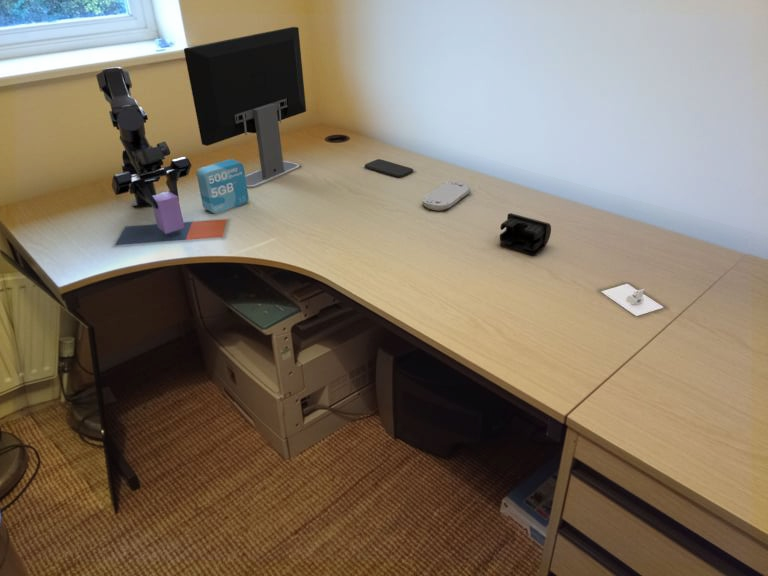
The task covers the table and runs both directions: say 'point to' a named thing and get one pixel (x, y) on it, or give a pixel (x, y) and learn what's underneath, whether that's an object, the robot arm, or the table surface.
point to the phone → (389, 168)
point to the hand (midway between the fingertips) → (167, 205)
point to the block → (168, 212)
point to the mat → (188, 233)
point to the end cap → (524, 234)
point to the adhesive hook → (632, 299)
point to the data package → (222, 185)
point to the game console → (446, 195)
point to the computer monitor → (249, 92)
